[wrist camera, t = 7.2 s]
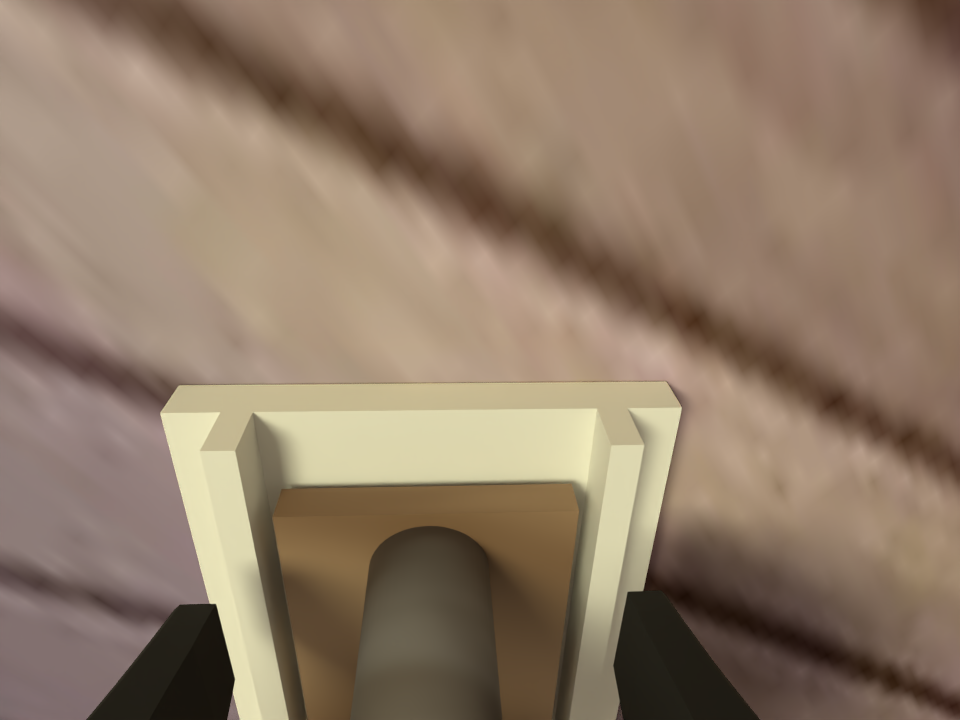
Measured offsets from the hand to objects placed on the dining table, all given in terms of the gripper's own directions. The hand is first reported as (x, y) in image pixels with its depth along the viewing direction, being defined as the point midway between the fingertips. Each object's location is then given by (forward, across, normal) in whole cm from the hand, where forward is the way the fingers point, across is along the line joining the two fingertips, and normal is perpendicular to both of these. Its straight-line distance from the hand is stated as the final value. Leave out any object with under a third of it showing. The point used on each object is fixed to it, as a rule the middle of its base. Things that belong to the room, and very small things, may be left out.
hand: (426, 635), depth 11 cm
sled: (+2, 0, +7) cm, 7 cm away
